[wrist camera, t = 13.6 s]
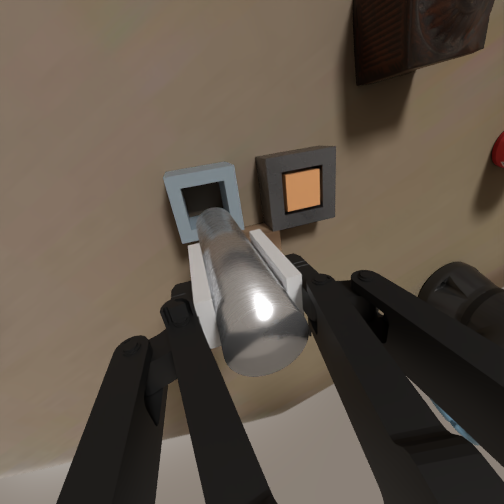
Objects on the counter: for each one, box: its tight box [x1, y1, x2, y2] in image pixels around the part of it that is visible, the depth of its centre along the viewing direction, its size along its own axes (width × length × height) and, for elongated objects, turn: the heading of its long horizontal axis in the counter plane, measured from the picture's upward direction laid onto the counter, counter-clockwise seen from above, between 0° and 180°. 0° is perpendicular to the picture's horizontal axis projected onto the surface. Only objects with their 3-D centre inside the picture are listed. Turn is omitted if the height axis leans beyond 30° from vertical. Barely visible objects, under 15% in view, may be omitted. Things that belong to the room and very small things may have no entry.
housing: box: [256, 146, 336, 232], centre depth 36 cm, size 10×10×4 cm
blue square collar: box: [163, 162, 245, 244], centre depth 33 cm, size 8×8×6 cm
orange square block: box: [281, 167, 320, 212], centre depth 36 cm, size 5×5×4 cm
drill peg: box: [196, 207, 309, 377], centre depth 16 cm, size 4×4×15 cm
